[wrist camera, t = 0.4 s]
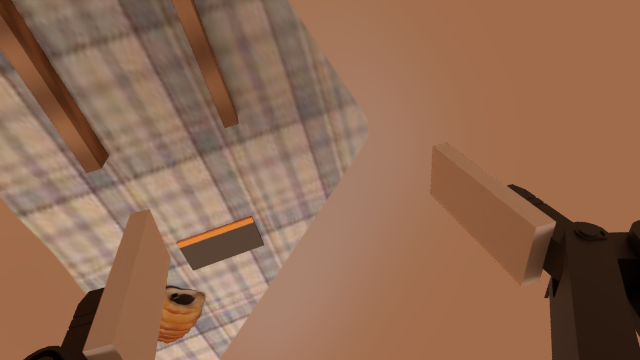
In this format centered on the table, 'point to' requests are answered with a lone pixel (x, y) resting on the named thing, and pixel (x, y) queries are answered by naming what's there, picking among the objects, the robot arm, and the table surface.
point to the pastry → (179, 313)
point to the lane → (41, 79)
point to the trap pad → (221, 243)
